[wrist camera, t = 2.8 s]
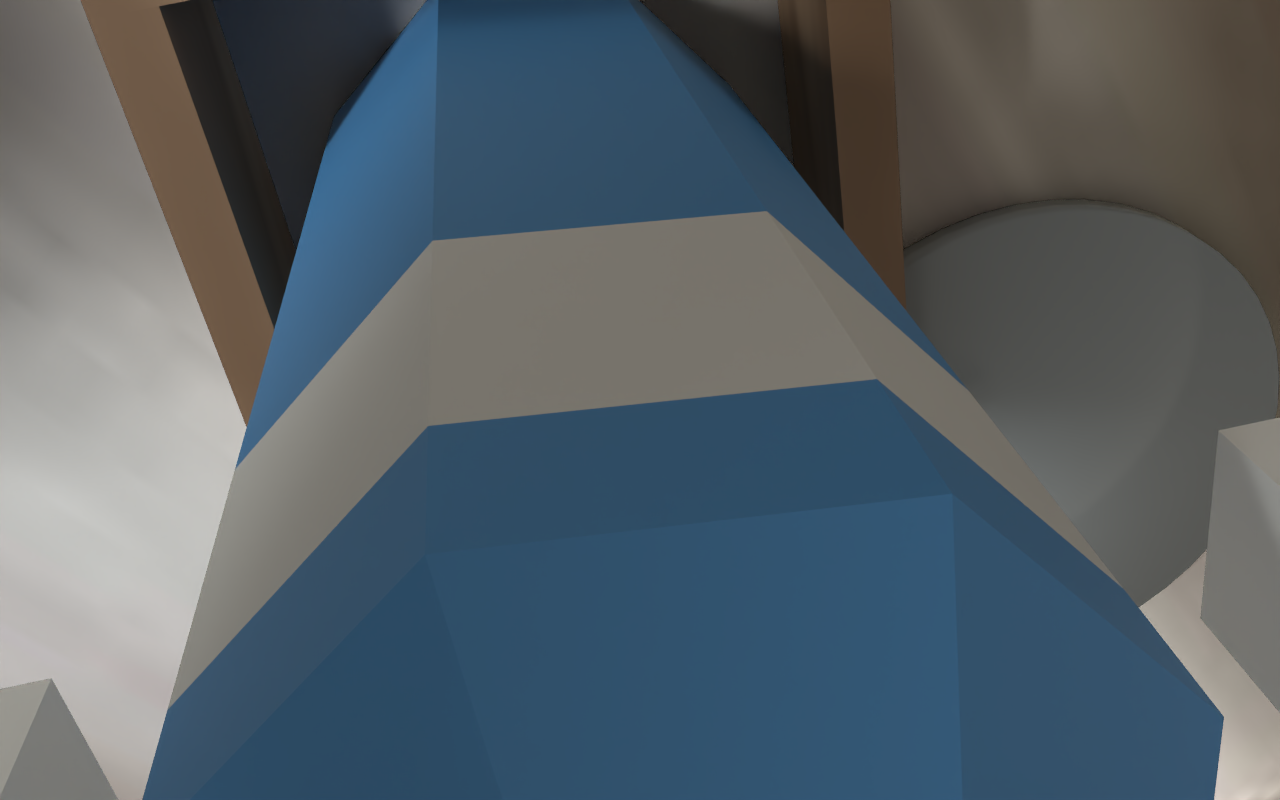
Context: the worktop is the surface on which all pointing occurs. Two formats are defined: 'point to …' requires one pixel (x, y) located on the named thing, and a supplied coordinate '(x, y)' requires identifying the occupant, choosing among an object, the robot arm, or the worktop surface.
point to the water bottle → (633, 480)
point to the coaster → (1102, 364)
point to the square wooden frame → (253, 218)
